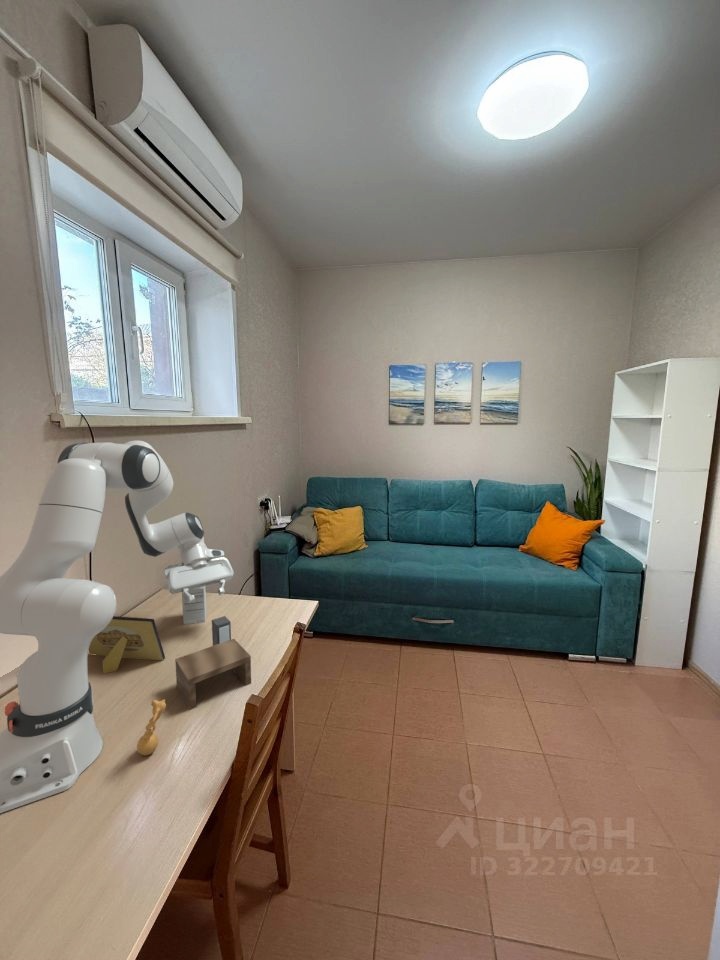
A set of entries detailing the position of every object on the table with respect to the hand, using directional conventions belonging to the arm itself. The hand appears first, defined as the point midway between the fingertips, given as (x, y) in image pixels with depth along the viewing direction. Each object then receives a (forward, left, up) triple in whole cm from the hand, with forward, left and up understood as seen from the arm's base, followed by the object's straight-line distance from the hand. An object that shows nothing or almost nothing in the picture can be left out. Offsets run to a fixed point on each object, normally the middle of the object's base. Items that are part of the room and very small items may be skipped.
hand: (207, 597), depth 126 cm
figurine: (-25, -37, -15) cm, 47 cm away
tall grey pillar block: (0, -11, -14) cm, 18 cm away
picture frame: (-25, +3, -15) cm, 29 cm away
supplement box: (+1, +17, -15) cm, 23 cm away
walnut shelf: (-7, -23, -14) cm, 28 cm away
